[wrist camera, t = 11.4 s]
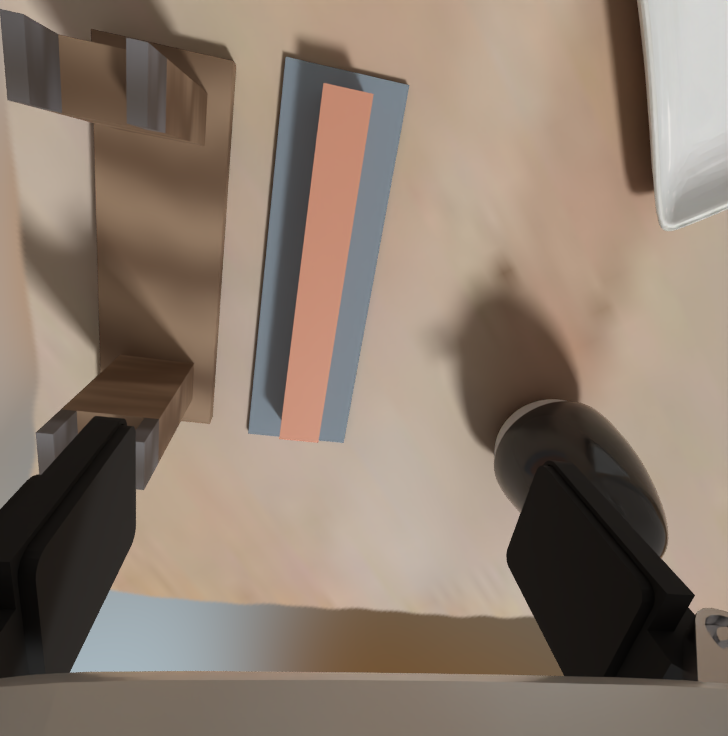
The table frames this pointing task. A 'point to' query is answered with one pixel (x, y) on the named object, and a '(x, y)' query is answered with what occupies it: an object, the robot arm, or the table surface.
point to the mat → (289, 233)
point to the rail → (324, 256)
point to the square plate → (687, 106)
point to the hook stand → (141, 220)
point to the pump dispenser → (579, 461)
